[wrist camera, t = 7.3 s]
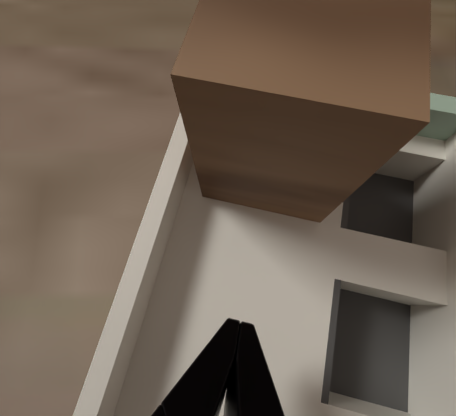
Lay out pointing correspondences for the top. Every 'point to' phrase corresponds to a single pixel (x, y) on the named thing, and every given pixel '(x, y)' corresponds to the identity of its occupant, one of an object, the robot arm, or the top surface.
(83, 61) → the top surface
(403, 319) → the box
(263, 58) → the walnut block
